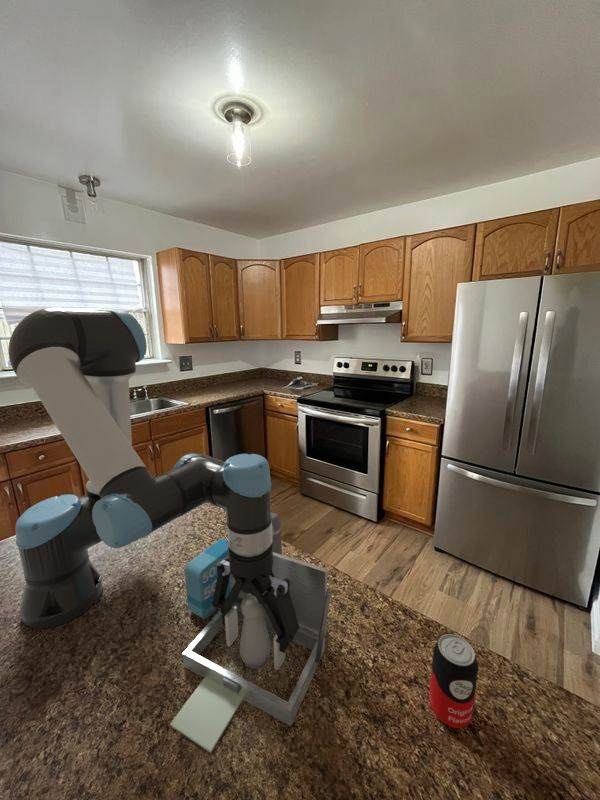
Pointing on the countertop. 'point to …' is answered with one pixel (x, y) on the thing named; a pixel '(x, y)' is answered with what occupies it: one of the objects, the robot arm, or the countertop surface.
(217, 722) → the pad
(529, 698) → the countertop surface
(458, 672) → the beverage can
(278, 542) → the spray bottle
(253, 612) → the salt shaker
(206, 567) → the data package
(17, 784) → the countertop surface
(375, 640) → the countertop surface
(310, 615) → the case
